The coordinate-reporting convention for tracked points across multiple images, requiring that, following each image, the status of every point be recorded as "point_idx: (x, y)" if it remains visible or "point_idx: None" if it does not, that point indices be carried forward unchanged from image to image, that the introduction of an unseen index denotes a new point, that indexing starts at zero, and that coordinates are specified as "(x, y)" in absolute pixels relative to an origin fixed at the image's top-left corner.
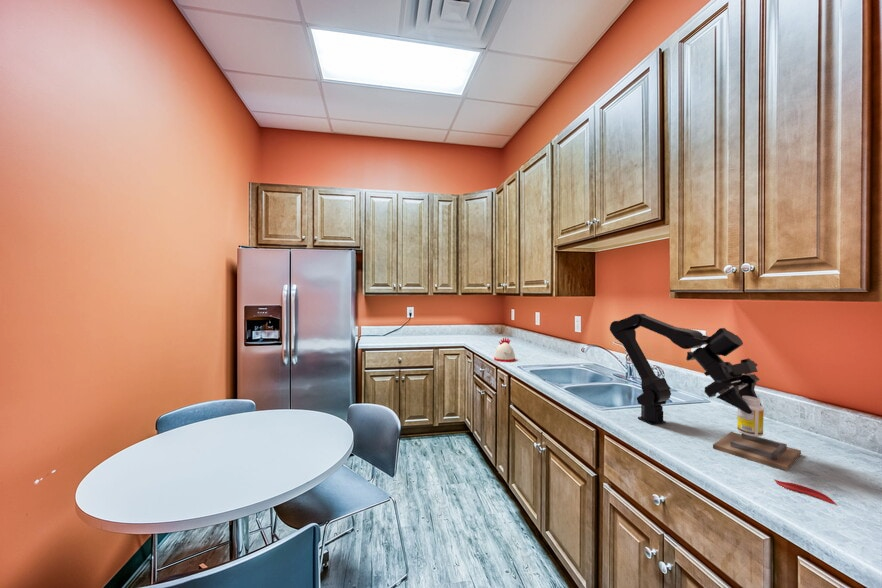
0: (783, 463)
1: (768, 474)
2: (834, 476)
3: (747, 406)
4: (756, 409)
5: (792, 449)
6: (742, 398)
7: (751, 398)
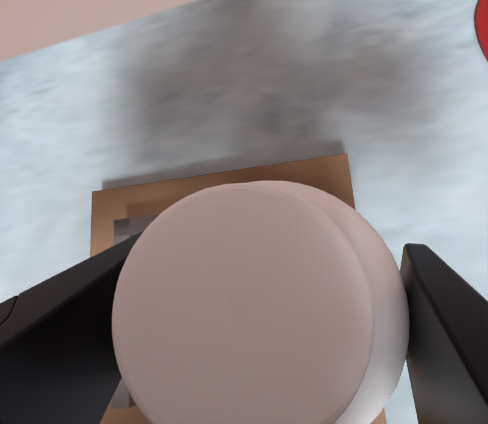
0: (318, 173)
1: (461, 184)
2: (229, 70)
3: (456, 284)
4: (355, 212)
5: (106, 212)
6: (485, 384)
7: (260, 288)
